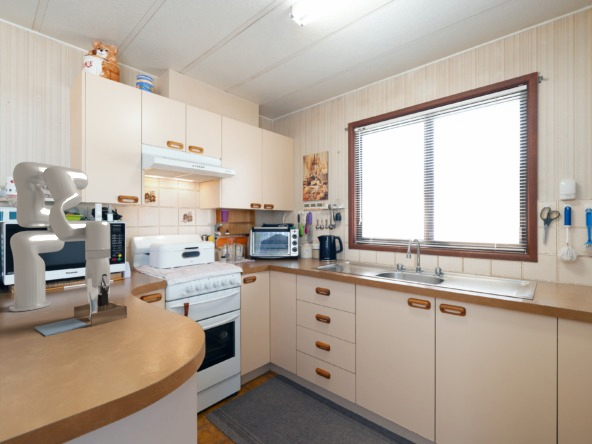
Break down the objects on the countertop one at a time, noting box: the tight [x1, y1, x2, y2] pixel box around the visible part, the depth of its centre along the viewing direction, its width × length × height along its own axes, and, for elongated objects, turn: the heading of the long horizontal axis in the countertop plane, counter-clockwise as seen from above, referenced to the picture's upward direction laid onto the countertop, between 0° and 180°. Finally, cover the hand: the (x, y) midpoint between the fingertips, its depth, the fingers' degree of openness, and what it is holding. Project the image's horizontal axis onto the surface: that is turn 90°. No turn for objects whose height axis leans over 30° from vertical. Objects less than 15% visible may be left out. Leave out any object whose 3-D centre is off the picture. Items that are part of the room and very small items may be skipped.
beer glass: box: [86, 278, 111, 321], centre depth 105 cm, size 7×7×15 cm
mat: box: [33, 317, 89, 337], centre depth 96 cm, size 12×11×1 cm
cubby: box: [73, 299, 128, 327], centre depth 106 cm, size 16×11×4 cm
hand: (98, 303), depth 105 cm, fingers closed on beer glass, 6 cm apart
